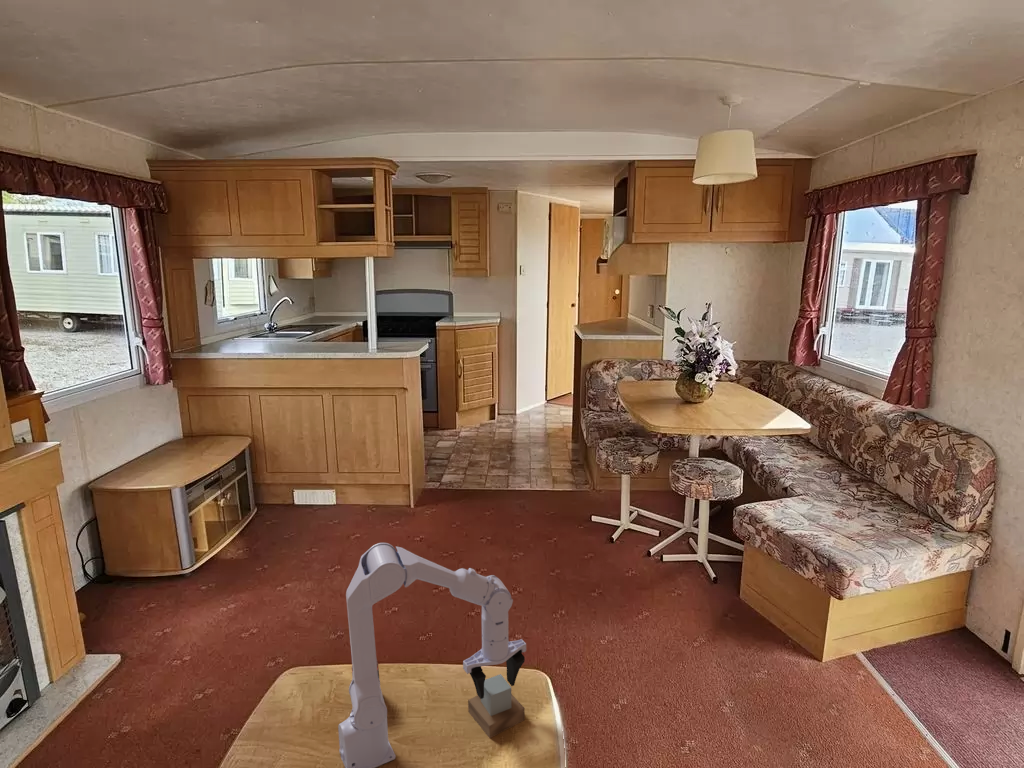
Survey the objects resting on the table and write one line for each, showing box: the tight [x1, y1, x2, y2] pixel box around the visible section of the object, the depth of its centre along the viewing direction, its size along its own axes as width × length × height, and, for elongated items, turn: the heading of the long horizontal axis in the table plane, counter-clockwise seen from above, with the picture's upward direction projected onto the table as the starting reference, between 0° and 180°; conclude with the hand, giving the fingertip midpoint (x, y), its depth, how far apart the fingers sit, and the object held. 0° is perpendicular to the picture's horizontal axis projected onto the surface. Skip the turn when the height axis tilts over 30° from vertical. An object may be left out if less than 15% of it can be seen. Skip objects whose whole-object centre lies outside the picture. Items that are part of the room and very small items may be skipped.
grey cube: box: [481, 673, 512, 716], centre depth 128 cm, size 5×5×5 cm
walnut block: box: [467, 693, 526, 739], centre depth 129 cm, size 9×9×4 cm
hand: (495, 689), depth 128 cm, fingers open, 7 cm apart
